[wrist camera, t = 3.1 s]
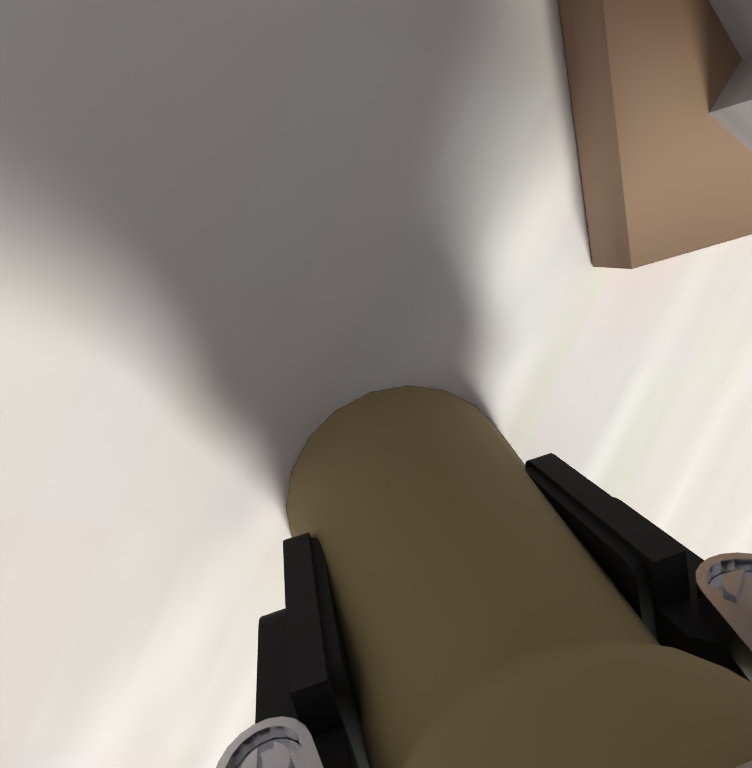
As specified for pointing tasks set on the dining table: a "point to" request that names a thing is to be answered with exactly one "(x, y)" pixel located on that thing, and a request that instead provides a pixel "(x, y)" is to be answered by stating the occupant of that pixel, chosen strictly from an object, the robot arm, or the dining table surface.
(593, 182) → the gear board
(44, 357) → the dining table surface
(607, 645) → the cork
